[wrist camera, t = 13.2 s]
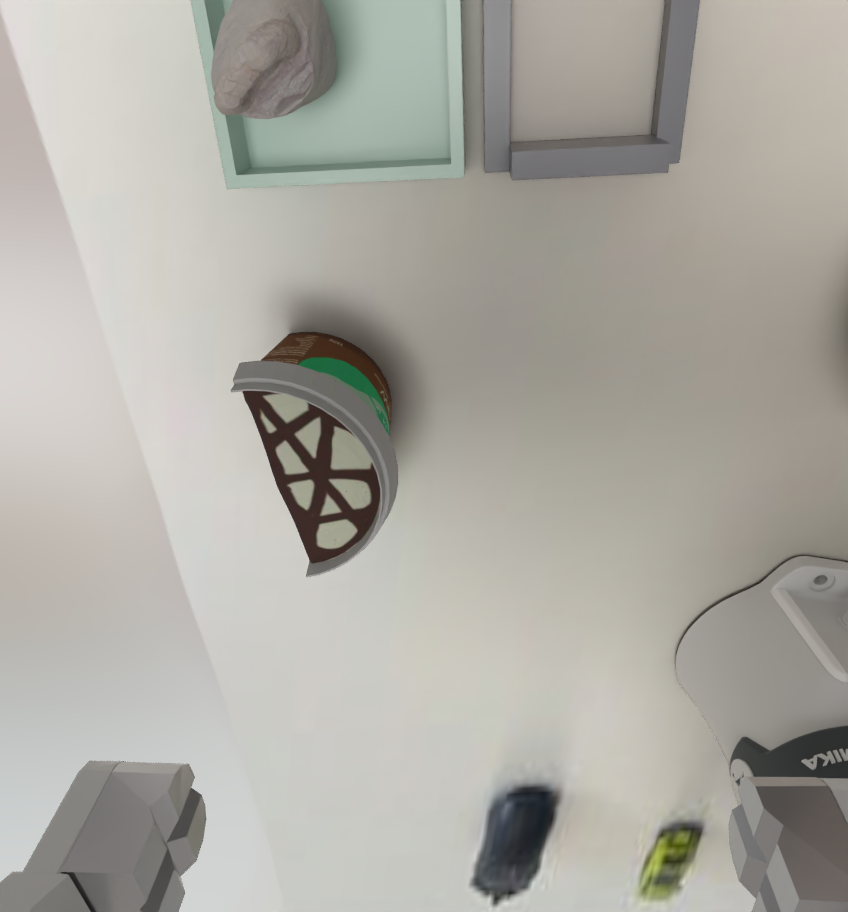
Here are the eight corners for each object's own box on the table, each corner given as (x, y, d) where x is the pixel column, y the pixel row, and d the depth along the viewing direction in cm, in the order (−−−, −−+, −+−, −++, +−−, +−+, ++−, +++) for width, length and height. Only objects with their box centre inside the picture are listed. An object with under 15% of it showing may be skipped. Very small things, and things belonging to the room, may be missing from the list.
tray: (459, -96, 29) (457, -111, 26) (465, 168, 34) (464, 177, 32) (200, -74, 30) (173, -87, 27) (245, 179, 35) (226, 188, 33)
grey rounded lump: (291, -38, 30) (217, -77, 21) (364, -4, 30) (321, -29, 22) (259, 99, 33) (183, 113, 24) (327, 128, 33) (276, 151, 25)
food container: (430, 470, 44) (419, 570, 35) (341, 484, 45) (309, 585, 36) (382, 288, 38) (355, 355, 29) (280, 309, 39) (226, 380, 30)
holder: (706, -119, 28) (739, -145, 25) (672, 159, 34) (695, 171, 30) (482, -101, 29) (483, -122, 25) (484, 169, 34) (485, 181, 31)
